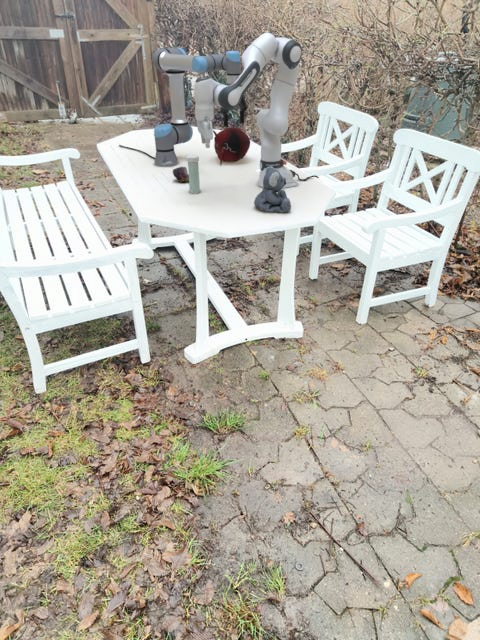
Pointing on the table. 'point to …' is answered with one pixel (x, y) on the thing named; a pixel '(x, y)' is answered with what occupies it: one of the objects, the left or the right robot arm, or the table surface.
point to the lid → (192, 158)
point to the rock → (181, 174)
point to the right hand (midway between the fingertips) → (205, 145)
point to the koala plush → (273, 193)
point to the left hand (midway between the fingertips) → (234, 125)
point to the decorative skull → (231, 144)
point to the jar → (194, 177)
